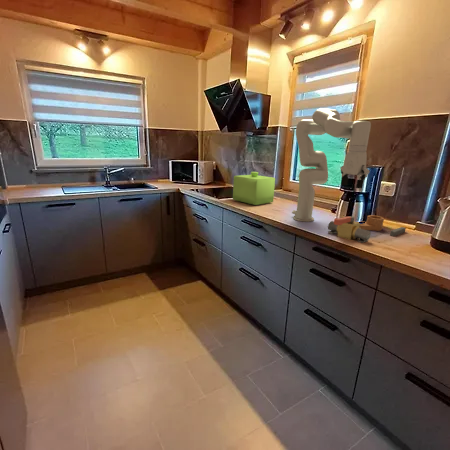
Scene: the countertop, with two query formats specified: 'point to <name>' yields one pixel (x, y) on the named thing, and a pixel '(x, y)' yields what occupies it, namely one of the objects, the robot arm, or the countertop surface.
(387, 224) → the countertop surface
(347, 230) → the valve body
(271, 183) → the canister
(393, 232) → the block
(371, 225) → the small saucepan
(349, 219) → the lever
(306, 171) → the robot arm
